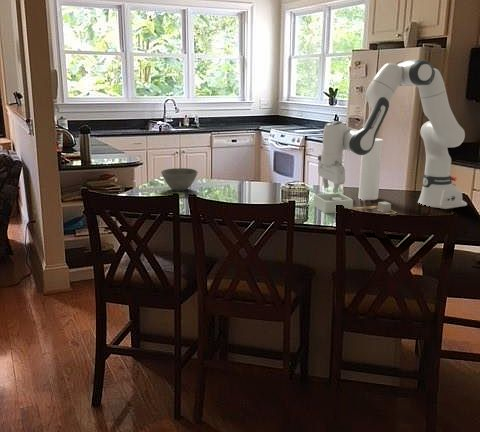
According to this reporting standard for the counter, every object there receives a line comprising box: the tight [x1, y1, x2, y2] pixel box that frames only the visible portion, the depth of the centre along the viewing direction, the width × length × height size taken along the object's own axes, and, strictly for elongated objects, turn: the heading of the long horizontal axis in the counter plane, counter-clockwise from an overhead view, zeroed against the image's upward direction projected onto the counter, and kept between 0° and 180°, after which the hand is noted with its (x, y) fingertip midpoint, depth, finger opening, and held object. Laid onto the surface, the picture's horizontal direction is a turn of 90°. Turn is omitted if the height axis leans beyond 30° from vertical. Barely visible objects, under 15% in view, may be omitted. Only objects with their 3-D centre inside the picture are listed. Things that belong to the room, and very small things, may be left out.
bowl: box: [160, 167, 199, 192], centre depth 269 cm, size 19×19×10 cm
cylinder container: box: [357, 137, 384, 201], centre depth 251 cm, size 9×9×30 cm
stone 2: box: [377, 201, 392, 212], centre depth 230 cm, size 4×4×4 cm
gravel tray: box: [353, 205, 398, 214], centre depth 229 cm, size 16×12×2 cm
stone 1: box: [331, 197, 342, 201], centre depth 238 cm, size 4×4×4 cm
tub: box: [312, 192, 354, 214], centre depth 235 cm, size 13×13×6 cm
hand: (330, 190), depth 230 cm, fingers open, 8 cm apart
